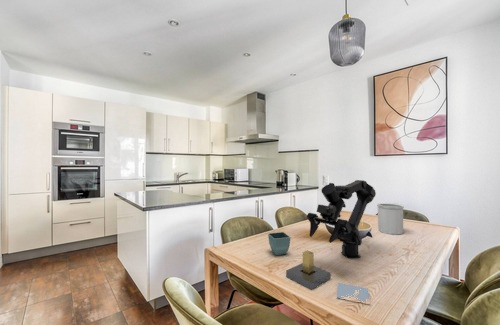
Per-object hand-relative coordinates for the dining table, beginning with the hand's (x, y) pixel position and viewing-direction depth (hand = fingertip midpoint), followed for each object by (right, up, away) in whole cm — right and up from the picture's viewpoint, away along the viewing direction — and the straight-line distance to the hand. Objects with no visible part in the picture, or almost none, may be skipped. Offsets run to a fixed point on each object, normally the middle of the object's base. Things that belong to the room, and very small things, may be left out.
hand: (319, 239), depth 94 cm
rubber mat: (+7, -13, -16) cm, 22 cm away
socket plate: (-6, -13, -5) cm, 16 cm away
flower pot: (-14, -14, +19) cm, 28 cm away
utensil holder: (+63, -13, +55) cm, 84 cm away
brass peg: (-6, -13, -5) cm, 16 cm away
